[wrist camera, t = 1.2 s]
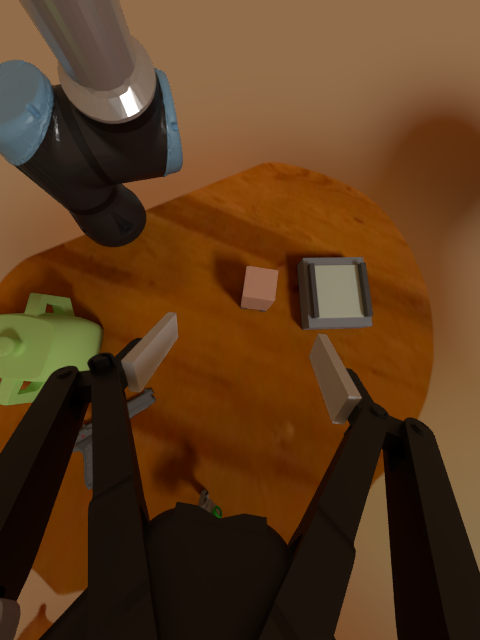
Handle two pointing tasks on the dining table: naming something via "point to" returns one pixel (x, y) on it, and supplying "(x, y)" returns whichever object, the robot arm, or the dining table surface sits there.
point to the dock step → (334, 293)
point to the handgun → (85, 433)
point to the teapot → (42, 345)
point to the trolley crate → (259, 288)
